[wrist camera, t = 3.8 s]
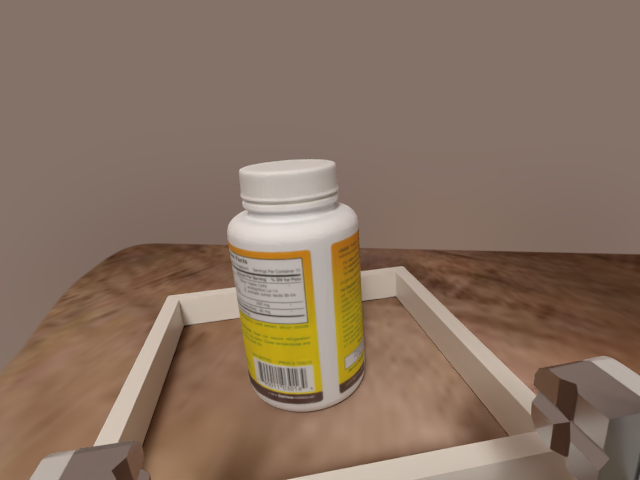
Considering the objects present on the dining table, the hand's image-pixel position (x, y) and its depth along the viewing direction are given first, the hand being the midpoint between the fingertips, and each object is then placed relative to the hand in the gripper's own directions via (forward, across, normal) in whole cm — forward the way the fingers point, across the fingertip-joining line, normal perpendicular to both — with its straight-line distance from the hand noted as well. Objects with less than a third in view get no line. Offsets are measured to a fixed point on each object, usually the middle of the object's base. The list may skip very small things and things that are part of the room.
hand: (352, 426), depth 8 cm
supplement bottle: (+10, 0, +6) cm, 12 cm away
